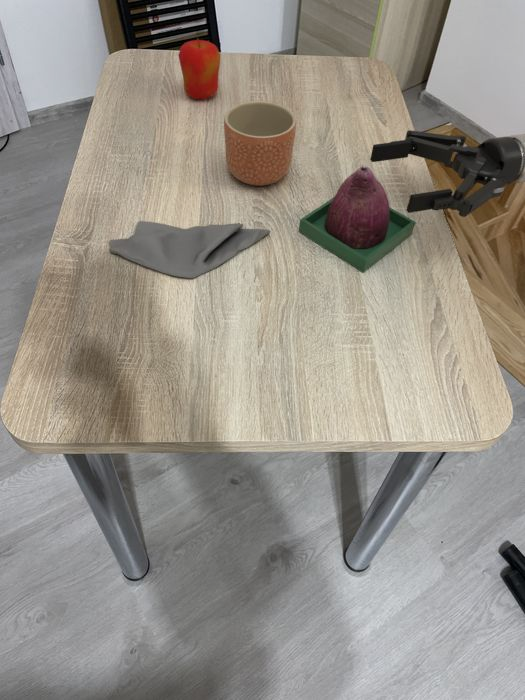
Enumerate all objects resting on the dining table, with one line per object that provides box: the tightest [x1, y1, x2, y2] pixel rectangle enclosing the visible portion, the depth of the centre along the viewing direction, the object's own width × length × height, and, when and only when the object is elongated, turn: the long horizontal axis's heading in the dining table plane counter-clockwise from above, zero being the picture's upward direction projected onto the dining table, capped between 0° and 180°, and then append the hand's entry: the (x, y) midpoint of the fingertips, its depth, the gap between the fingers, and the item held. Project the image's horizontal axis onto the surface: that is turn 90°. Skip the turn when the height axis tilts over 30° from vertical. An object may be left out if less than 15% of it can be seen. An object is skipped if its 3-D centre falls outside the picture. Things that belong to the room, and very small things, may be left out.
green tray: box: [298, 196, 417, 273], centre depth 90 cm, size 14×14×3 cm
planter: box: [223, 100, 297, 187], centre depth 96 cm, size 12×12×11 cm
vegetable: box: [325, 165, 390, 249], centre depth 85 cm, size 10×10×15 cm
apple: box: [178, 37, 221, 100], centre depth 113 cm, size 9×8×12 cm
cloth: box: [108, 220, 271, 279], centre depth 86 cm, size 26×14×2 cm, turn 90°
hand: (390, 177), depth 84 cm, fingers open, 13 cm apart
